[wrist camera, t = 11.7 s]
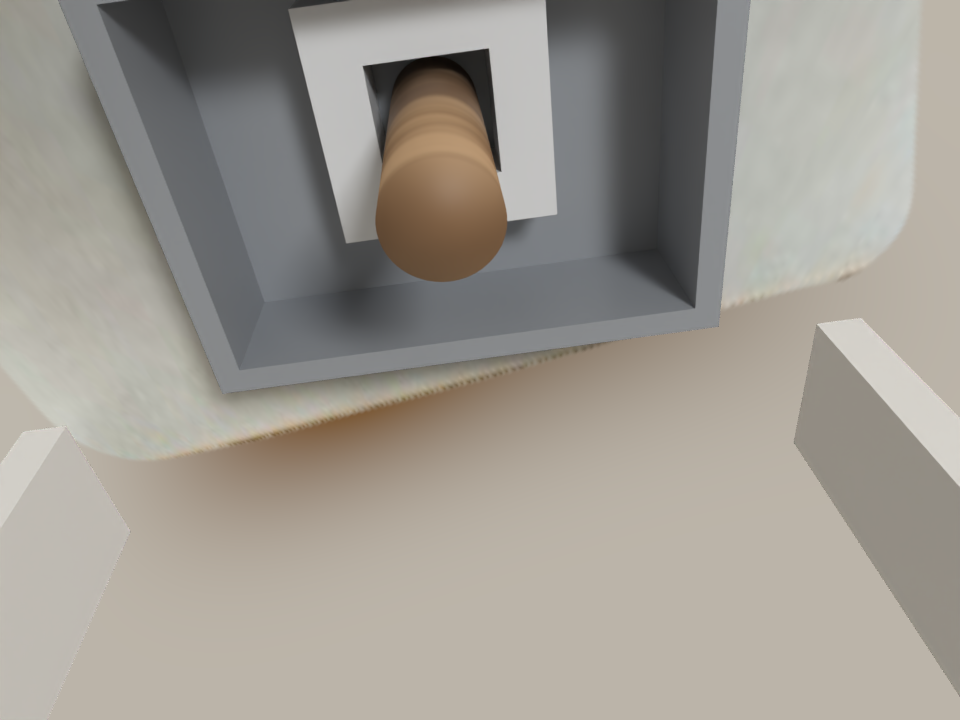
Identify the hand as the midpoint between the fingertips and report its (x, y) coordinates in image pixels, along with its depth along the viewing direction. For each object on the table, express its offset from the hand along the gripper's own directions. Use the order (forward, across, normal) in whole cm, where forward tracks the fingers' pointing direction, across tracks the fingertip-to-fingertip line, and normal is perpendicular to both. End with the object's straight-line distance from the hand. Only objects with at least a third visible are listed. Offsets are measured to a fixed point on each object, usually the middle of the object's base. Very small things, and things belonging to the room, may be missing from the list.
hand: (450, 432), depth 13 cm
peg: (+24, 0, 0) cm, 24 cm away
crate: (+25, 0, -2) cm, 25 cm away
